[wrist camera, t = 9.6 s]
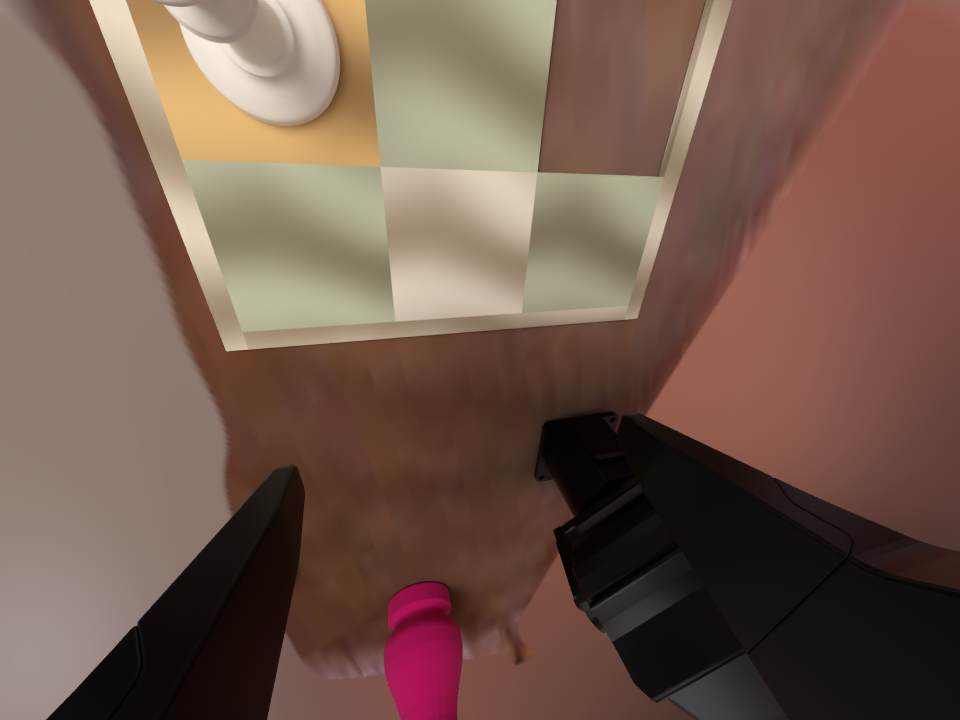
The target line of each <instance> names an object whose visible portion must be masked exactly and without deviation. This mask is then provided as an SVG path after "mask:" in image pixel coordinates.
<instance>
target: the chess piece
mask: <svg viewBox="0 0 960 720" xmlns="http://www.w3.org/2000/svg"><path fill="white" fill-rule="evenodd" d="M152 1H155V2H157V3H161V4H163V5H164V6H165V7H166V9H167V10H168V11H169V12H170V14H171V15H172V16H173V17H174V18H175V19H176V20H177V21H178V22H179V24H180V28H181V31H182V34H183V37H184V40H185V42H186V45H187V47H188V49H189V51H190V53H191V55H192V57H193V59H194V60H195V62H196V64H197V65H198V67H199V68H200V70H201V71H202V73H203V74H204V75H205V77H206V78H207V79H208V81H209V82H210V83H211V84H212V85H213V86H214V87H215V89H216V90H217V91H218V92H219V93H220V94H222V95H223V96H224V97H225V98H226V99H227V100H228V101H229V102H231V103H232V104H233V105H234V106H236V107H237V108H238V109H240V110H241V111H243V112H244V113H246V114H248V115H249V116H251V117H253V118H255V119H258V120H260V121H263V122H265V123H269V124H273V125H278V126H296V125H301V124H305V123H307V122H310V121H312V120H313V119H315V118H317V117H318V116H319V115H320V114H322V113H323V112H324V111H325V109H326V108H327V107H328V106H329V104H330V103H331V101H332V99H333V97H334V95H335V92H336V89H337V86H338V82H339V75H340V54H339V46H338V41H337V37H336V34H335V30H334V27H333V24H332V22H331V19H330V17H329V15H328V12H327V10H326V8H325V7H324V5H323V3H322V1H321V0H152Z"/></svg>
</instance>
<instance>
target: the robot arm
mask: <svg viewBox="0 0 960 720" xmlns="http://www.w3.org/2000/svg"><path fill="white" fill-rule="evenodd" d="M617 420H618V416H617V415H616V414H615V413H614V412H608V413H601V414H595V415H588V416H582V417H575V418H569V419H562V420H555V421H549V422H547V423H545V424H544V426H543V430H542V435H541V441H540V447H539V452H538V458H537V463H536V469H535V475H534V476H535V478H536V480H537V481H538V482H541V481H546V480H551V479H554V481H555V482H556V484H557V486H558V488H559V490H560V492H561V493H562V495H563V497H564V499H565V501H566V503H567V504H568V506H569V508H570V510H571V512H572V514H573V515H574V518H573V519H571V520H570V521H568V522H567V523H566V524H564V525H563V526H561V527H560V526H559V527H557V528H556V529H554V530H553V531H554V534H555V537H556V541H557V542H556V544H557V547H558V550H559V554H560V557H561V560H562V563H563V566H564V569H565V572H566V576H567V579H568V582H569V585H570V588H571V591H572V594H573V598H574V602H575V604H576V606H577V608H578V609H579V610H581V611H583V612H585V613H586V615H587V616H588V618H589V619H590V621H591V622H592V623H593V624H594V625H595V627H597V628H598V629H599V630H600V631H601V632H603V633H607V634H608V636H609V638H610V639H611V641H612V643H613V645H614V646H615V648H616V650H617V652H618V653H619V655H620V657H621V659H622V661H623V663H624V665H625V667H626V668H627V671H628V672H629V674H630V676H631V678H632V680H633V682H634V683H635V684H636V686H637V687H639V688H640V689H641V690H642V691H643V692H644V693H645V694H646V695H647V696H648V697H650V698H651V699H652V700H653V701H655V702H656V703H659V702H661V701H663V700H664V699H668V700H669V701H670V702H672V703H673V704H675V705H676V706H677V707H679V708H680V709H682V710H683V711H684V712H686V713H687V714H688V715H690V716H691V717H693V718H694V719H695V720H960V551H955V550H950V549H946V548H942V547H938V546H934V545H931V544H928V543H924V542H922V541H919V540H916V539H913V538H911V537H909V536H906V535H904V534H902V533H899V532H897V531H894V530H892V529H890V528H887V527H885V526H883V525H880V524H878V523H876V522H873V521H871V520H868V519H866V518H864V517H861V516H859V515H857V514H854V513H852V512H850V511H847V510H845V509H842V508H840V507H837V506H836V505H833V504H831V503H829V502H826V501H824V500H822V499H819V498H817V497H815V496H813V495H811V494H808V493H806V492H804V491H802V490H799V489H798V488H795V487H793V486H791V485H789V484H787V483H785V482H783V481H781V480H778V479H776V478H772V477H771V476H770V475H768V474H766V473H764V472H762V471H759V470H757V469H755V468H753V467H751V466H749V465H747V464H745V463H743V462H741V461H739V460H736V459H734V458H732V457H730V456H728V455H726V454H724V453H722V452H720V451H718V450H715V449H713V448H711V447H709V446H707V445H705V444H703V443H701V442H699V441H696V440H694V439H692V438H690V437H688V436H686V435H684V434H682V433H680V432H678V431H675V430H673V429H671V428H669V427H667V426H665V425H662V424H661V423H659V422H657V421H655V420H652V419H650V418H648V417H646V416H644V415H642V414H640V413H628V414H625V415H623V417H622V419H621V422H620V425H619V428H618V431H617V434H616V433H615V432H614V430H615V427H616V423H617ZM550 427H551V428H550ZM304 500H305V490H304V486H303V483H302V480H301V477H300V474H299V471H298V468H297V467H296V466H295V465H290V466H284V467H278V468H276V469H275V470H274V471H273V472H272V473H271V474H270V475H269V476H268V477H267V479H266V480H265V481H264V482H263V483H262V484H261V485H260V486H259V487H258V489H257V490H256V491H255V492H254V493H253V494H252V495H251V496H250V497H249V499H248V500H247V501H246V502H245V503H244V504H243V505H242V506H241V507H240V509H239V510H238V511H237V512H236V513H235V514H234V515H233V516H232V517H231V519H230V520H229V521H228V522H227V523H226V524H225V525H224V527H223V528H222V529H221V530H220V531H219V532H218V533H217V534H216V535H215V537H214V538H213V539H212V540H211V541H210V542H209V543H208V544H207V545H206V547H205V548H204V549H203V550H202V551H201V552H200V553H199V554H198V555H197V556H196V558H195V559H194V560H193V561H192V562H191V563H190V564H189V565H188V567H187V568H186V569H185V570H184V571H183V572H182V573H181V574H180V575H179V576H178V578H177V579H176V580H175V581H174V582H173V583H172V584H171V585H170V586H169V588H168V589H167V590H166V591H165V592H164V593H163V594H162V595H161V596H160V598H159V599H158V600H157V601H156V602H155V603H154V604H153V605H152V607H151V608H150V609H149V610H148V611H147V612H146V613H145V614H144V615H143V617H142V618H141V619H140V620H139V621H138V624H137V626H134V627H133V628H132V629H131V630H130V631H129V632H128V633H127V634H126V635H125V636H124V637H123V639H122V640H121V641H120V642H119V643H118V644H117V645H116V646H115V648H114V649H113V650H112V651H111V652H110V653H109V654H108V655H107V656H106V657H105V658H104V659H103V660H102V662H101V663H100V664H99V665H98V666H97V667H96V668H95V669H94V670H93V671H92V672H91V673H90V675H89V676H88V677H87V678H86V679H85V680H84V681H83V682H82V683H81V684H80V685H79V686H78V687H77V689H76V690H75V691H74V692H73V693H72V694H71V695H70V696H69V697H68V698H67V699H66V700H65V701H64V702H63V703H62V704H61V705H60V706H59V707H58V708H57V709H56V710H55V711H54V712H53V713H52V714H51V715H50V716H49V717H48V718H47V719H46V720H267V717H268V712H269V707H270V702H271V697H272V692H273V688H274V682H275V678H276V673H277V668H278V663H279V658H280V652H281V648H282V643H283V639H284V634H285V629H286V624H287V619H288V614H289V609H290V604H291V599H292V594H293V590H294V585H295V580H296V575H297V570H298V564H299V557H300V547H301V535H302V523H303V512H304Z"/></svg>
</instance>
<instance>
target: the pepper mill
mask: <svg viewBox="0 0 960 720" xmlns="http://www.w3.org/2000/svg"><path fill="white" fill-rule="evenodd" d="M450 611H451V603H450V597H449V591H448V589H447V587H446V586H444V585H443V584H441V583H438V582H423V583H418V584H414V585H411V586H408V587H406V588H404V589H402V590H401V591H399V592H398V593H396V594H395V595H394V596H393V597H392V598H391V599H390V601H389V604H388V624H389V627H390V628H391V629H392V630H393V632H392V634H391V636H390V637H389V639H388V641H387V643H386V646H385V649H384V667H385V674H386V678H387V682H388V686H389V688H390V691H391V693H392V696H393V698H394V701H395V703H396V705H397V709H398V712H399V715H400V718H401V720H457V698H458V689H459V681H460V674H461V666H462V639H461V632H460V629H459V627H458V625H457V624H456V623H455V622H454V621H453V620H452V619H451V618H450V617H449V616H448V615H449V613H450Z"/></svg>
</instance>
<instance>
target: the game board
mask: <svg viewBox="0 0 960 720" xmlns="http://www.w3.org/2000/svg"><path fill="white" fill-rule="evenodd" d="M321 1H322V3H323V5H324V7H325V8H326V10H327V12H328V15H329V17H330V19H331V22H332V24H333V27H334V30H335V34H336V37H337V41H338V46H339V54H340V75H339V82H338V86H337V89H336V92H335V95H334V97H333V99H332V101H331V103H330V104H329V106H328V107H327V108H326V109H325V111H324V112H323V113H322V114H320V115H319V116H318V117H317V118H315V119H313V120H312V121H310V122H307V123H305V124H301V125H296V126H278V125H273V124H269V123H265V122H263V121H260V120H258V119H255V118H253V117H251V116H249V115H248V114H246V113H244V112H243V111H241V110H240V109H238V108H237V107H236V106H234V105H233V104H232V103H231V102H229V101H228V100H227V99H226V98H225V97H224V96H223V95H222V94H220V93H219V92H218V91H217V90H216V89H215V87H214V86H213V85H212V84H211V83H210V82H209V81H208V79H207V78H206V77H205V75H204V74H203V73H202V71H201V70H200V68H199V67H198V65H197V64H196V62H195V60H194V59H193V57H192V55H191V53H190V51H189V49H188V47H187V45H186V42H185V40H184V37H183V34H182V31H181V28H180V24H179V22H178V21H177V20H176V19H175V18H174V17H173V16H172V15H171V14H170V12H169V11H168V10H167V9H166V7H165V6H164V5H163V4H161V3H157V2H155V1H152V0H90V3H91V5H92V8H93V11H94V13H95V16H96V18H97V21H98V23H99V26H100V29H101V31H102V34H103V36H104V39H105V41H106V44H107V46H108V49H109V52H110V54H111V57H112V59H113V62H114V64H115V67H116V70H117V72H118V75H119V77H120V80H121V82H122V85H123V87H124V90H125V93H126V95H127V98H128V100H129V103H130V105H131V108H132V111H133V113H134V116H135V118H136V121H137V123H138V126H139V128H140V131H141V134H142V136H143V139H144V141H145V144H146V146H147V149H148V152H149V154H150V157H151V159H152V162H153V164H154V167H155V169H156V172H157V175H158V177H159V180H160V182H161V185H162V187H163V190H164V193H165V195H166V198H167V200H168V203H169V205H170V208H171V210H172V213H173V216H174V218H175V221H176V223H177V226H178V228H179V231H180V234H181V236H182V239H183V241H184V244H185V246H186V249H187V251H188V254H189V257H190V259H191V262H192V264H193V267H194V269H195V272H196V275H197V277H198V280H199V282H200V285H201V287H202V290H203V292H204V295H205V298H206V300H207V303H208V305H209V308H210V310H211V313H212V316H213V318H214V321H215V323H216V326H217V328H218V331H219V333H220V336H221V339H222V341H223V344H224V346H225V349H226V351H235V350H248V349H261V348H273V347H286V346H298V345H311V344H324V343H336V342H349V341H361V340H374V339H387V338H399V337H412V336H425V335H437V334H450V333H462V332H475V331H488V330H500V329H513V328H526V327H538V326H551V325H563V324H576V323H589V322H601V321H614V320H627V319H637V317H638V314H639V311H640V307H641V304H642V301H643V297H644V294H645V291H646V287H647V284H648V281H649V277H650V274H651V271H652V267H653V264H654V261H655V257H656V254H657V251H658V247H659V244H660V241H661V237H662V234H663V231H664V227H665V224H666V221H667V217H668V214H669V211H670V208H671V204H672V201H673V198H674V194H675V191H676V188H677V184H678V181H679V178H680V174H681V171H682V168H683V164H684V161H685V158H686V154H687V151H688V148H689V144H690V141H691V138H692V134H693V131H694V128H695V124H696V121H697V118H698V114H699V111H700V108H701V105H702V101H703V98H704V95H705V91H706V88H707V85H708V81H709V78H710V75H711V71H712V68H713V65H714V61H715V58H716V55H717V51H718V48H719V45H720V41H721V38H722V35H723V31H724V28H725V25H726V21H727V18H728V15H729V11H730V8H731V5H732V2H733V0H706V3H705V6H704V10H703V14H702V17H701V21H700V25H699V28H698V32H697V36H696V39H695V43H694V47H693V50H692V54H691V58H690V61H689V65H688V69H687V72H686V76H685V80H684V83H683V87H682V91H681V94H680V98H679V102H678V105H677V109H676V113H675V116H674V120H673V124H672V127H671V131H670V135H669V138H668V142H667V146H666V149H665V153H664V157H663V160H662V164H661V168H660V171H659V175H658V177H655V176H628V175H601V174H574V173H547V172H538V163H539V154H540V145H541V136H542V127H543V118H544V109H545V100H546V91H547V83H548V74H549V65H550V56H551V47H552V38H553V29H554V20H555V11H556V2H557V0H321Z"/></svg>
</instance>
